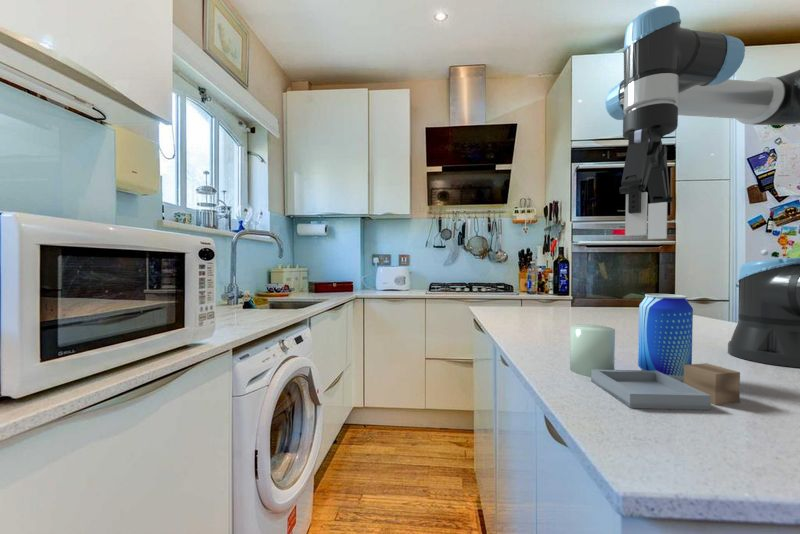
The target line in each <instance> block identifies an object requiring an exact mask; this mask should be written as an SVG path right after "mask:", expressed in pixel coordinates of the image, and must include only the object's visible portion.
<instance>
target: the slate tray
mask: <svg viewBox="0 0 800 534" xmlns="http://www.w3.org/2000/svg"><path fill="white" fill-rule="evenodd" d="M590 378H591V379H590V381H591V383H593V384H595V385H596V386H597V387H599V388H601V389H602V390H603V391H605V392H606V393H608V394H609V395H611V396H612V397H614V398H615V399H616V400H618V401H619V402H621V403H622V404H624V405H626V407H628V408H629V409H663V410H664V409H667V410H703V411H704V410H709V411H710V410H711V409H712V404H711V395H709V394H707V393H705V392H702V391H700V390H698V389H696V388H694V387H691V386H689V385H687V384H685V383H684V381H678V380H676V379H674V378H672V377H670V376H668V375H665V374H663V373H661V372H659V371H649V370H641V369H640V370H639V369H635V370H633V369H614V370H593V369H591V377H590Z"/></svg>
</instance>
